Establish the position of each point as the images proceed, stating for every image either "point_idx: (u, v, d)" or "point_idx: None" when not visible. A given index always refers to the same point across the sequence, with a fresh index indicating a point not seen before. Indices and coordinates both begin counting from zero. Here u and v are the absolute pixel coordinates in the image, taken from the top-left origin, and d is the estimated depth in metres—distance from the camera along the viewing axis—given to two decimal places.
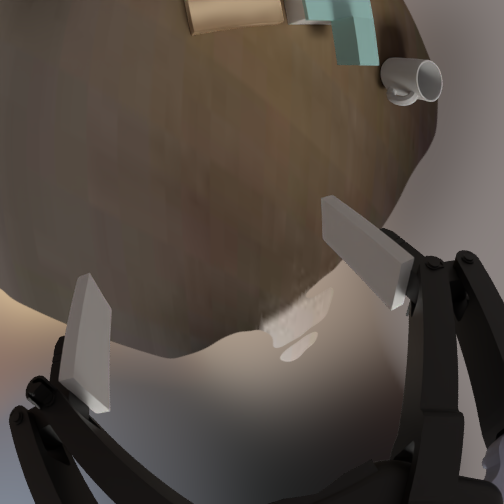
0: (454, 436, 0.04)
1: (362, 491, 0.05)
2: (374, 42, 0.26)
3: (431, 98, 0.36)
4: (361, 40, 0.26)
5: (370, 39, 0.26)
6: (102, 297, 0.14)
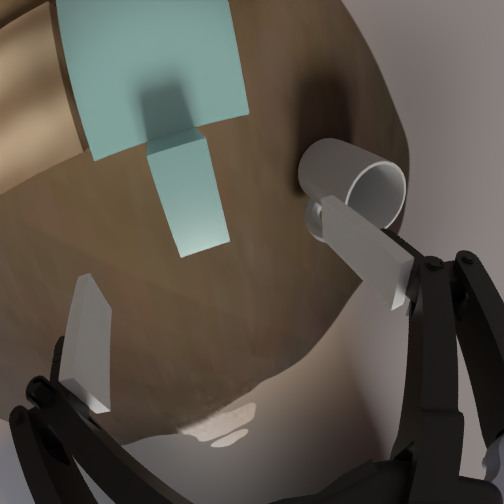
0: (454, 436, 0.04)
1: (362, 491, 0.05)
2: (213, 197, 0.16)
3: (379, 224, 0.26)
4: (175, 207, 0.16)
5: (200, 194, 0.16)
6: (102, 297, 0.14)
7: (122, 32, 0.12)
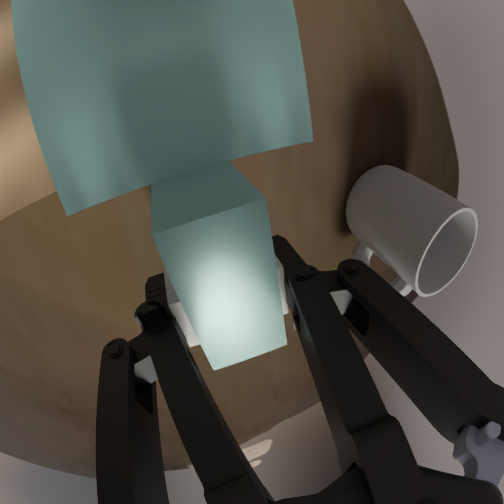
0: (396, 444, 0.05)
1: (362, 491, 0.05)
2: (271, 293, 0.10)
3: (442, 277, 0.19)
4: (207, 312, 0.09)
5: (250, 291, 0.09)
6: None
7: (108, 0, 0.06)
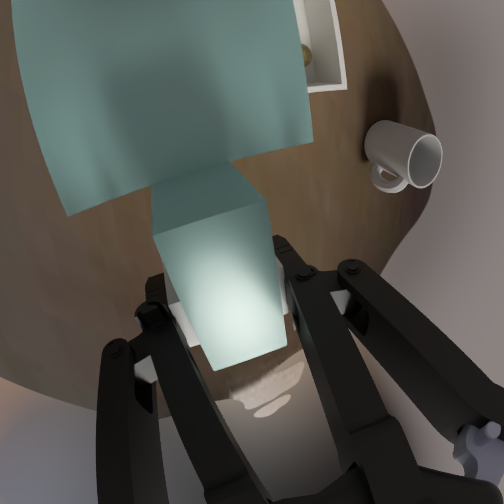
0: (397, 443, 0.05)
1: (362, 492, 0.05)
2: (271, 294, 0.10)
3: (425, 181, 0.33)
4: (207, 313, 0.09)
5: (250, 292, 0.09)
6: None
7: (108, 0, 0.06)
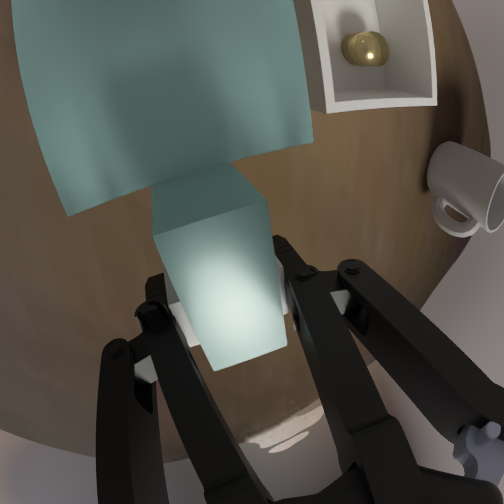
0: (396, 444, 0.05)
1: (362, 492, 0.05)
2: (271, 295, 0.10)
3: (495, 222, 0.23)
4: (207, 313, 0.09)
5: (250, 292, 0.09)
6: None
7: (108, 1, 0.06)
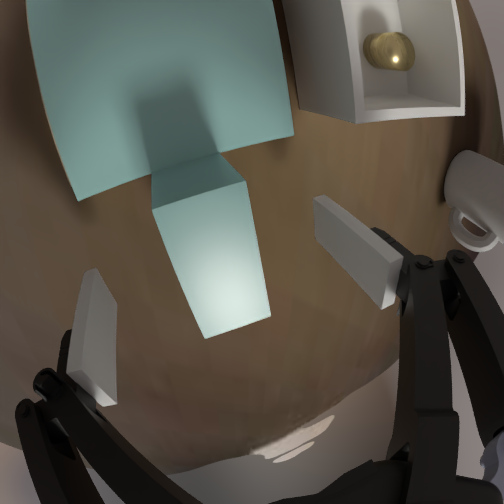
0: (449, 436, 0.05)
1: (362, 492, 0.05)
2: (254, 264, 0.11)
3: None
4: (197, 280, 0.11)
5: (235, 262, 0.11)
6: (108, 292, 0.14)
7: (114, 14, 0.08)
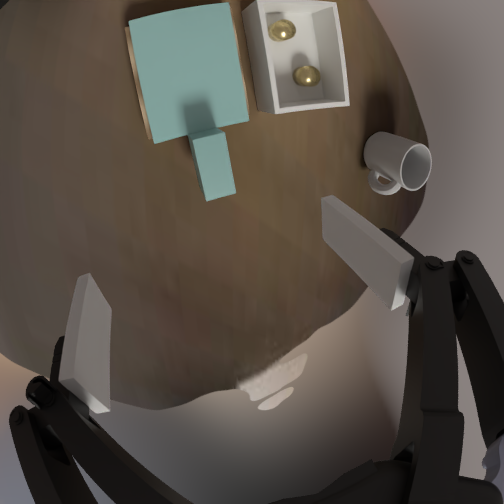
0: (454, 436, 0.04)
1: (362, 492, 0.05)
2: (227, 165, 0.28)
3: (416, 184, 0.38)
4: (206, 169, 0.28)
5: (220, 163, 0.28)
6: (102, 297, 0.14)
7: (175, 67, 0.25)
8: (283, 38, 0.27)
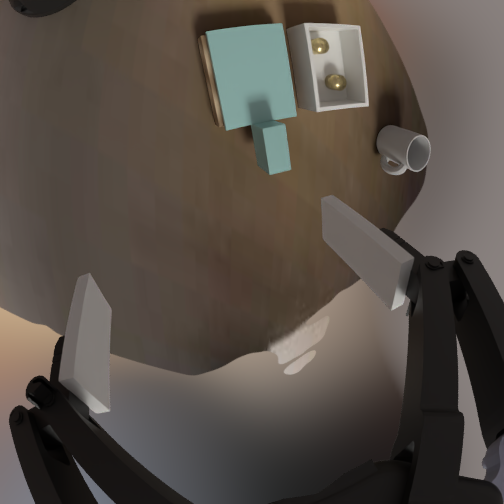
0: (454, 436, 0.04)
1: (362, 491, 0.05)
2: (286, 148, 0.38)
3: (419, 167, 0.47)
4: (270, 151, 0.37)
5: (281, 146, 0.37)
6: (102, 297, 0.14)
7: (243, 72, 0.34)
8: (320, 53, 0.36)
